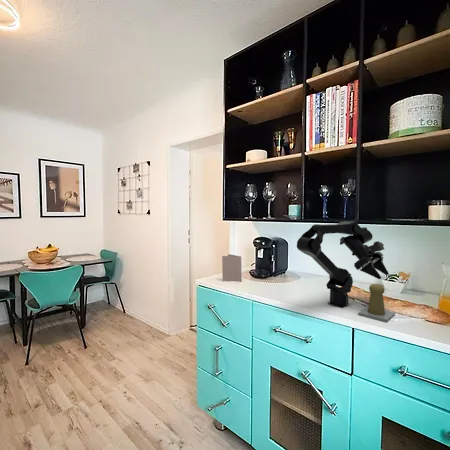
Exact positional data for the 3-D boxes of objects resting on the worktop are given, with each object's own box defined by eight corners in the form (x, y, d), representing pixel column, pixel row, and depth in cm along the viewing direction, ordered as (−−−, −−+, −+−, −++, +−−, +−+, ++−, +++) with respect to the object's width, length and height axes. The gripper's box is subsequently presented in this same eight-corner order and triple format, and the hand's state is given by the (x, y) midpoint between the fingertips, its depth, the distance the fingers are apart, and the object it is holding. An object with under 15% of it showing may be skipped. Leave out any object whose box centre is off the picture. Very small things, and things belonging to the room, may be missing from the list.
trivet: (358, 314, 104) (358, 312, 104) (367, 308, 111) (367, 305, 111) (386, 322, 97) (386, 319, 97) (395, 314, 104) (395, 312, 104)
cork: (379, 309, 107) (379, 282, 107) (388, 315, 101) (389, 286, 101) (364, 309, 107) (364, 282, 106) (373, 315, 101) (374, 287, 100)
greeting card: (242, 281, 155) (242, 256, 154) (233, 284, 150) (232, 257, 149) (229, 278, 163) (229, 253, 163) (220, 280, 159) (219, 255, 158)
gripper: (362, 237, 106) (393, 268, 99) (378, 233, 119) (407, 261, 111) (342, 254, 112) (370, 285, 105) (359, 249, 125) (385, 276, 118)
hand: (384, 276), depth 110 cm, fingers open, 9 cm apart
